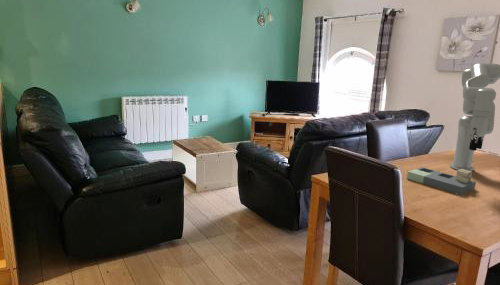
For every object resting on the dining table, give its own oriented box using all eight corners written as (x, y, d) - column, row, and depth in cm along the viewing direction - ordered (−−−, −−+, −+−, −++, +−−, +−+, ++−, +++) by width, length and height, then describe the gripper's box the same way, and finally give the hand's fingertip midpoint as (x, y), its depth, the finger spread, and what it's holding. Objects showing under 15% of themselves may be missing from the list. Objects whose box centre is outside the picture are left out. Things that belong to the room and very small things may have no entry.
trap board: (420, 173, 204) (421, 167, 203) (474, 189, 183) (475, 181, 182) (406, 178, 196) (407, 171, 195) (461, 195, 174) (462, 187, 173)
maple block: (459, 178, 186) (461, 168, 185) (470, 181, 183) (472, 171, 181) (455, 179, 183) (457, 170, 182) (466, 182, 180) (467, 173, 178)
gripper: (480, 111, 188) (474, 145, 192) (466, 114, 178) (459, 149, 182) (496, 114, 182) (490, 148, 186) (482, 116, 172) (475, 153, 176)
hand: (475, 148), depth 184 cm, fingers open, 5 cm apart
